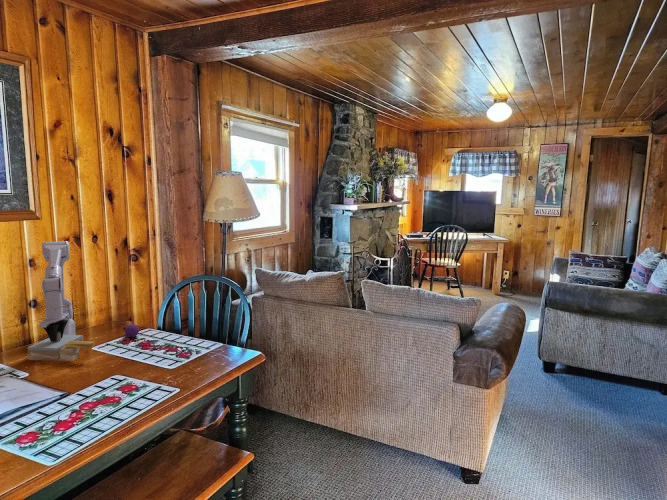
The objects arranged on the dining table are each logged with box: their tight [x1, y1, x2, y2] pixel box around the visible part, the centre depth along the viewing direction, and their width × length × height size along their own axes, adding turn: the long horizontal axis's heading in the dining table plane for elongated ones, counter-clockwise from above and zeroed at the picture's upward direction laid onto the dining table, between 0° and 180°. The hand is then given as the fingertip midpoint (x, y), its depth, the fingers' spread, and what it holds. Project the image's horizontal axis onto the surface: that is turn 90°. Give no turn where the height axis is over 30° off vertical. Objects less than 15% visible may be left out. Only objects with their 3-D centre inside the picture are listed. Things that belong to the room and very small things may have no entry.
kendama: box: [124, 320, 140, 338], centre depth 203 cm, size 6×6×20 cm
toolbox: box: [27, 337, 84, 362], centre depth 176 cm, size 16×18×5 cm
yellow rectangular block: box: [65, 340, 96, 349], centre depth 169 cm, size 3×10×2 cm, turn 87°
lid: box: [27, 332, 84, 351], centre depth 176 cm, size 16×12×6 cm
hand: (56, 339), depth 176 cm, fingers open, 3 cm apart
